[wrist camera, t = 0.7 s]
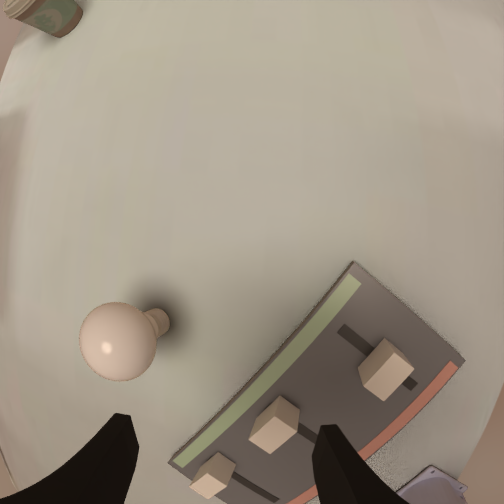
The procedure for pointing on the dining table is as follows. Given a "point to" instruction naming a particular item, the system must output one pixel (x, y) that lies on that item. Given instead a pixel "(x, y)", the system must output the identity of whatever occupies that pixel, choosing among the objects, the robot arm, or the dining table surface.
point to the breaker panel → (324, 392)
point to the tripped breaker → (384, 370)
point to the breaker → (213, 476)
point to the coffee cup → (45, 14)
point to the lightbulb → (121, 339)
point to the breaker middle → (275, 425)
